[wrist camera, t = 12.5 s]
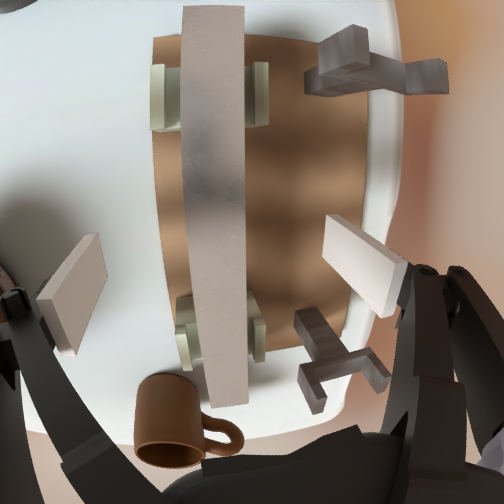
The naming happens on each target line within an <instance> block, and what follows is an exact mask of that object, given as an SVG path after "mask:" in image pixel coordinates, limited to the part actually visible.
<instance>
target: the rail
mask: <svg viewBox="0 0 504 504" xmlns="http://www.w3.org/2000/svg"><path fill="white" fill-rule="evenodd" d="M180 125H181V157H182V178H183V195H184V209H185V222H186V234H187V245H188V255H189V265H190V274H191V283H192V291H193V299H194V307H195V314H196V321H197V328H198V335H199V342H200V348H201V354H202V360H203V366H204V372H205V378H206V383H207V389H208V394H209V400H210V405H211V408H219V407H227V406H234V405H241V404H248V403H249V397H248V350H247V295H246V226H245V120H244V6H226V5H200V6H183V18H182V37H181V66H180Z"/></svg>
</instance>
